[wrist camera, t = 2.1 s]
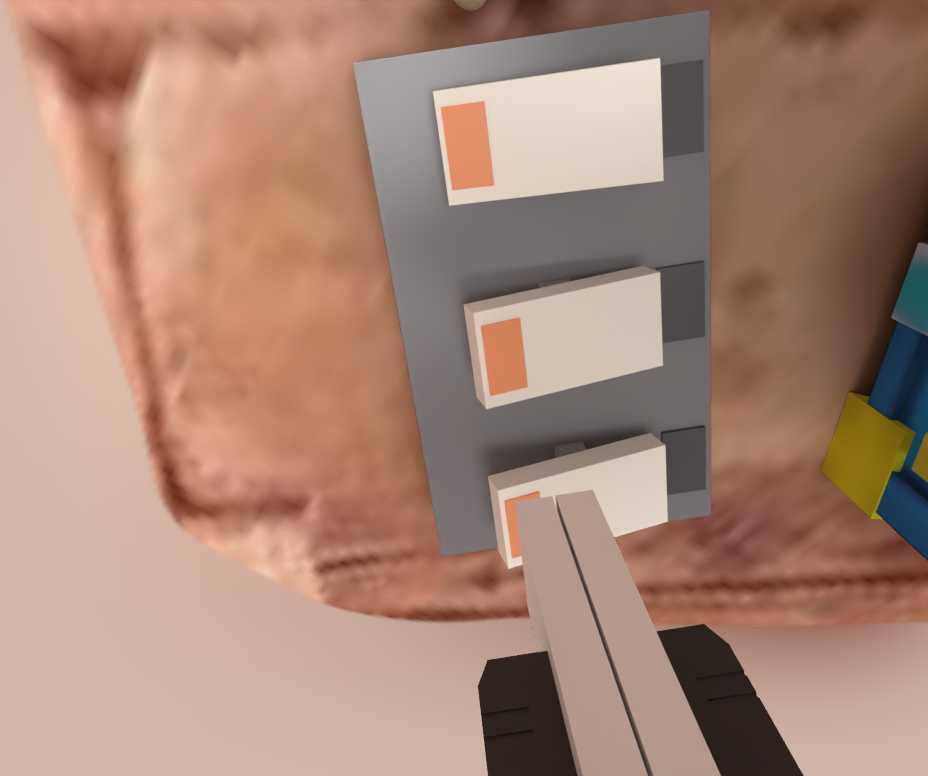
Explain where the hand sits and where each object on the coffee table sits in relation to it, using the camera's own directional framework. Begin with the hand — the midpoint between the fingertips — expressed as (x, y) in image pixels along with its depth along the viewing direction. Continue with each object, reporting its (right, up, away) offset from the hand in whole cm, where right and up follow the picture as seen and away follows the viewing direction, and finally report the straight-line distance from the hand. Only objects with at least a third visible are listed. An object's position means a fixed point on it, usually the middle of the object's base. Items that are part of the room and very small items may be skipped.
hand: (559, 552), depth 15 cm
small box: (+3, -1, +14) cm, 15 cm away
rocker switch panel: (+1, +8, +17) cm, 19 cm away
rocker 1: (+1, +12, +9) cm, 15 cm away
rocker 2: (+2, +5, +12) cm, 13 cm away
